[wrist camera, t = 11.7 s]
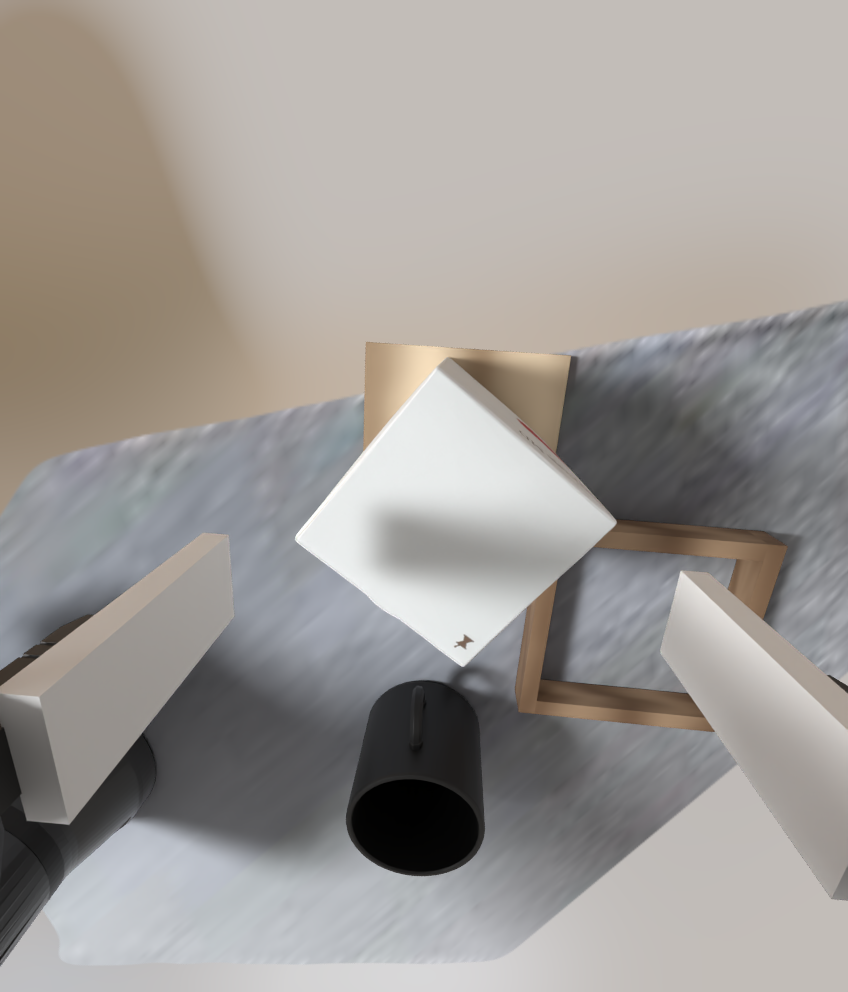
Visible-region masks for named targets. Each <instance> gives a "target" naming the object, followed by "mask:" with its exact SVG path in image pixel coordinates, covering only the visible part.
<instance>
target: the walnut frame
mask: <svg viewBox="0 0 848 992" xmlns="http://www.w3.org/2000/svg"><path fill="white" fill-rule="evenodd" d="M615 520H616V521H617V524H616V525H615V526H614V527H613V528H612V529H611V530H610V531H609V532H608V533H607V534H606V535H605V536H604V537H603V538H602V539H601V540H599V541H598V542H597V543H596V544H595V545H594V546H593V547H600V548H612V549H624V550H636V551H647V552H659V553H671V554H683V555H695V556H707V557H718V558H730V559H737V561H736V564H735V568H734V571H733V574H732V578H731V581H730V584H729V587H728V590H729V591H730V592H731V593H732V594H733V595H735V596H736V597H737V598H738V599H739V600H740V601H741V602H743V603H744V604H745V605H746V606H747V607H748V608H750V609H751V610H752V611H753V612H754V613H755V614H756V615H758V616H759V617H760V618H761V619H762V620H763V618H764V615H765V612H766V609H767V606H768V603H769V600H770V597H771V594H772V591H773V588H774V586H775V583H776V580H777V577H778V574H779V571H780V568H781V565H782V562H783V559H784V556H785V553H786V550H787V547H788V546H787V545H785V544H784V543H782V542H780V541H779V540H777V539H775V538H774V537H772V536H770V535H769V534H767V533H766V532H764V531H753V530H741V529H729V528H717V527H704V526H692V525H680V524H668V523H655V522H643V521H631V520H619V519H615ZM557 580H558V579H557ZM557 580H556V581H555V582H554V583H553V584H552V585H551V586H549V587H548V588H547V589H546V590H545V591H544V592H543V593H542V594H541V595H539V596H538V597H537V598H536V599H535V600H534V601H533V602H532V603H531V604H530V605H529V606H528V607H527V612H526V619H525V625H524V632H523V638H522V645H521V652H520V658H519V665H518V671H517V678H516V684H515V694H516V700H517V706H518V712H522V713H532V714H542V715H551V716H561V717H571V718H581V719H591V720H601V721H611V722H621V723H631V724H641V725H651V726H660V727H670V728H680V729H690V730H700V731H710V732H715V731H714V729H713V728H712V726H711V725H710V724H709V722H708V721H707V719H706V718H705V716H704V715H703V714H702V712H701V711H700V709H699V708H698V706H697V705H696V703H695V702H694V701H693V699H692V698H691V696H690V695H689V694H685V693H675V692H664V691H654V690H644V689H634V688H623V687H613V686H603V685H593V684H582V683H572V682H562V681H552V680H541V679H540V678H541V672H542V667H543V661H544V655H545V649H546V643H547V638H548V632H549V626H550V620H551V614H552V609H553V603H554V597H555V591H556V586H557Z"/></svg>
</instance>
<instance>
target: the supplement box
mask: <svg viewBox="0 0 848 992" xmlns="http://www.w3.org/2000/svg"><path fill="white" fill-rule="evenodd" d="M616 524H617V521H616V520H615V518H614V517H613V516H612V515H611V514H610V512H609V511H608V510H607V509H606V508H605V507H604V506H603V505H602V504H601V502H600V501H599V500H598V499H597V498H596V497H595V496H594V495H593V494H592V493H591V492H590V490H589V489H588V488H587V487H586V486H585V485H584V484H583V483H582V482H581V480H580V479H579V478H578V477H577V476H576V475H575V474H574V473H573V472H572V471H571V470H570V469H569V467H568V466H567V465H566V464H565V463H564V462H563V461H562V460H561V459H560V458H559V457H558V456H557V455H556V453H555V452H554V451H553V450H552V449H551V448H550V447H549V446H548V445H547V443H546V442H545V441H544V440H543V439H542V438H541V437H540V436H538V435H537V434H536V433H535V432H534V431H533V430H532V429H531V428H530V427H529V426H528V425H527V424H526V423H524V422H523V421H522V420H521V419H520V418H519V417H518V416H517V415H516V414H514V413H513V412H512V411H511V410H510V409H509V408H508V407H507V406H505V405H504V404H503V403H502V402H501V401H500V400H498V399H497V398H496V397H495V396H494V395H493V394H491V393H490V392H489V391H488V390H487V389H486V388H484V387H483V386H482V385H481V384H480V383H479V382H478V381H476V380H475V379H474V378H473V377H472V376H471V375H469V374H468V373H467V372H466V371H465V370H464V369H463V368H461V367H460V366H459V365H458V364H457V363H456V362H454V361H453V360H452V359H451V358H449V357H447V358H445V359H444V360H443V361H442V362H441V363H440V364H439V365H438V366H436V368H435V369H434V370H433V371H432V372H431V373H430V374H429V375H428V376H427V378H426V379H425V380H424V381H423V382H422V383H421V384H420V385H419V387H418V388H417V389H416V390H415V391H414V392H413V393H412V395H411V396H410V397H409V398H408V399H407V400H406V402H405V403H404V404H403V405H402V406H401V407H400V408H399V410H398V411H397V412H396V413H395V414H394V415H393V417H392V418H391V419H390V420H389V421H388V423H387V424H386V425H385V426H384V427H383V429H382V430H381V431H380V432H379V433H378V435H377V436H376V437H375V438H374V439H373V441H372V442H371V443H370V444H369V445H368V447H367V448H366V449H365V450H364V452H363V453H362V454H361V455H360V457H359V458H358V459H357V460H356V462H355V463H354V464H353V465H352V467H351V468H350V469H349V470H348V471H347V473H346V474H345V475H344V476H343V478H342V479H341V480H340V481H339V483H338V484H337V485H336V486H335V488H334V489H333V490H332V491H331V493H330V494H329V495H328V496H327V498H326V499H325V500H324V501H323V503H322V504H321V505H320V507H319V508H318V509H317V510H316V512H315V513H314V514H313V515H312V516H311V518H310V519H309V520H308V521H307V523H306V524H305V525H304V526H303V527H302V529H301V530H300V531H299V532H298V534H297V535H296V537H295V540H296V541H297V542H298V544H300V545H301V546H302V547H304V548H305V549H306V550H308V551H309V552H310V553H312V554H313V555H314V556H316V557H317V558H318V559H320V560H321V561H322V562H324V563H325V564H326V565H328V566H329V567H330V568H332V569H333V570H334V571H336V572H337V573H338V574H340V575H341V576H342V577H344V578H345V579H346V580H348V581H349V582H350V583H352V584H353V585H354V586H356V587H357V588H358V589H360V590H361V591H362V592H364V593H365V594H366V595H367V596H368V597H369V598H370V599H371V600H372V601H373V602H374V603H375V604H376V605H377V606H379V607H380V608H381V609H382V610H384V611H385V612H387V613H389V614H390V615H392V616H394V617H396V618H398V619H399V620H401V621H402V622H403V623H405V624H406V625H407V626H409V627H410V628H411V629H413V630H414V631H415V632H417V633H418V634H419V635H421V636H422V637H423V638H424V639H426V640H427V641H428V642H430V643H431V644H432V645H433V646H435V647H436V648H437V649H439V650H440V651H441V652H443V653H444V654H445V655H447V656H448V657H449V658H451V659H452V660H453V661H455V662H456V663H457V664H459V665H460V666H462V667H465V666H466V665H467V664H468V663H469V662H470V661H471V660H472V659H473V658H474V657H475V656H476V655H477V654H478V653H480V652H481V651H482V650H483V649H484V648H485V647H486V646H487V645H488V644H489V643H490V642H491V641H492V640H493V639H494V638H495V637H496V636H497V635H498V634H499V633H500V632H502V631H503V630H504V629H505V628H506V627H507V626H508V625H509V624H510V623H511V622H512V621H513V620H514V619H515V618H516V617H517V616H518V615H519V614H520V613H522V612H523V611H524V610H525V609H526V608H527V607H528V606H529V605H530V604H531V603H532V602H533V601H534V600H535V599H536V598H537V597H538V596H539V595H541V594H542V593H543V592H544V591H545V590H546V589H547V588H548V587H549V586H551V585H552V584H553V583H554V582H555V581H556V580H557V579H558V578H559V577H560V576H562V575H563V574H564V573H565V572H566V571H567V570H568V569H569V568H570V567H571V566H573V565H574V564H575V563H576V562H577V561H578V560H579V559H580V558H582V557H583V556H584V555H585V554H586V553H587V552H588V551H589V550H590V549H591V548H592V547H593V546H594V545H595V544H596V543H597V542H598V541H599V540H601V539H602V538H603V537H604V536H605V535H606V534H607V533H608V532H609V531H610V530H611V529H612V528H613V527H614V526H615V525H616Z"/></svg>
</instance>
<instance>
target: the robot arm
mask: <svg viewBox="0 0 848 992" xmlns="http://www.w3.org/2000/svg"><path fill="white" fill-rule="evenodd" d="M234 617H235V616H234V602H233V588H232V574H231V560H230V546H229V535H224V534H212V533H202V534H201V535H200V536H198V537H197V538H196V539H194V540H193V541H192V542H190V543H189V544H188V545H186V546H185V547H184V548H182V549H181V550H180V551H178V552H177V553H176V554H174V555H173V556H172V557H170V558H169V559H168V560H166V561H165V562H164V563H163V564H161V565H160V566H159V567H157V568H156V569H155V570H153V571H152V572H151V573H149V574H148V575H147V576H145V577H144V578H143V579H141V580H140V581H139V582H137V583H136V584H135V585H133V586H132V587H131V588H129V589H128V590H127V591H126V592H124V593H123V594H122V595H120V596H119V597H118V598H116V599H115V600H114V601H112V602H111V603H110V604H108V605H107V606H106V607H104V608H103V609H102V610H100V611H99V612H98V613H96V614H95V615H86V616H83V617H81V618H79V619H77V620H75V621H72V622H70V623H68V624H66V625H64V626H62V627H60V628H59V629H57V630H56V631H55V632H53V633H52V634H50V635H49V636H48V637H46V638H45V639H43V640H42V641H41V642H40V645H35V646H34V647H32V648H31V649H30V650H28V651H27V652H25V653H24V654H23V657H22V658H17V659H16V660H14V661H13V662H12V663H10V664H9V665H7V666H6V667H5V668H3V669H2V670H1V671H0V966H1V965H2V964H3V962H4V961H5V959H6V958H7V957H8V956H9V954H10V953H11V951H12V950H13V949H14V947H15V946H16V945H17V943H18V942H19V940H20V939H21V938H22V936H23V935H24V933H25V932H26V931H27V929H28V928H29V927H30V925H31V924H32V922H33V921H34V920H35V918H36V917H37V916H38V914H39V913H40V911H41V910H42V909H43V907H44V906H45V905H46V903H47V902H48V900H49V899H50V898H51V896H52V895H53V894H54V892H55V891H56V890H57V888H58V887H59V885H60V884H61V883H62V881H63V880H64V879H65V877H66V876H67V875H68V874H69V873H70V872H71V871H72V870H74V869H75V868H76V867H77V866H78V865H79V864H80V863H82V862H83V861H84V860H85V859H86V858H87V857H88V856H89V855H91V854H92V853H93V852H94V851H95V850H96V849H97V848H99V847H100V846H101V845H102V844H103V843H104V842H105V841H106V840H107V839H108V838H109V837H110V836H112V835H113V834H114V833H115V832H116V831H118V830H119V829H120V828H122V827H123V826H124V825H126V824H127V823H128V822H129V821H130V820H131V819H132V818H133V817H134V815H135V814H136V813H137V811H138V810H139V808H140V807H141V805H142V804H143V803H144V801H145V800H146V798H147V797H148V795H149V794H150V792H151V790H152V788H153V785H154V782H155V775H156V769H155V762H154V758H153V755H152V752H151V750H150V748H149V746H148V744H147V742H146V740H145V739H144V737H143V736H142V735H141V734H142V732H143V731H144V730H145V729H146V727H147V726H148V725H149V724H150V722H151V721H152V720H153V719H154V717H155V716H156V715H157V714H158V712H159V711H160V710H161V709H162V707H163V706H164V705H165V703H166V702H167V701H168V700H169V698H170V697H171V696H172V695H173V693H174V692H175V691H176V690H177V688H178V687H179V686H180V685H181V683H182V682H183V681H184V680H185V678H186V677H187V676H188V675H189V673H190V672H191V671H192V669H193V668H194V667H195V666H196V664H197V663H198V662H199V661H200V659H201V658H202V657H203V656H204V654H205V653H206V652H207V651H208V649H209V648H210V647H211V646H212V644H213V643H214V642H215V640H216V639H217V638H218V637H219V635H220V634H221V633H222V632H223V630H224V629H225V628H226V627H227V625H228V624H229V623H230V622H231V620H232V619H233V618H234ZM660 653H661V654H662V656H663V657H664V659H665V660H666V662H667V663H668V665H669V666H670V667H671V669H672V670H673V672H674V673H675V675H676V676H677V678H678V679H679V680H680V682H681V683H682V685H683V686H684V688H685V689H686V690H687V692H688V693H689V695H690V696H691V698H692V699H693V701H694V702H695V703H696V705H697V706H698V708H699V709H700V711H701V712H702V714H703V715H704V716H705V718H706V719H707V721H708V722H709V724H710V725H711V726H712V728H713V729H714V731H715V732H716V734H717V735H718V737H719V738H720V739H721V741H722V742H723V744H724V745H725V747H726V748H727V750H728V751H729V752H730V754H731V755H732V757H733V758H734V760H735V761H736V762H737V764H738V765H739V767H740V768H741V770H742V771H743V773H744V774H745V775H746V777H747V778H748V780H749V781H750V783H751V784H752V786H753V787H754V788H755V790H756V791H757V793H758V794H759V796H760V797H761V798H762V800H763V801H764V803H765V804H766V806H767V807H768V809H769V810H770V811H771V813H772V814H773V816H774V817H775V819H776V820H777V822H778V823H779V824H780V826H781V827H782V829H783V830H784V831H785V833H786V834H787V836H788V837H789V839H790V840H791V842H792V843H793V844H794V846H795V847H796V849H797V850H798V852H799V853H800V855H801V856H802V858H803V859H804V860H805V862H806V863H807V865H808V866H809V868H810V869H811V870H812V872H813V873H814V875H815V876H816V878H817V879H818V881H819V882H820V883H821V885H822V886H823V887H824V889H825V891H826V892H827V893H828V895H829V896H830V898H831V899H839V900H848V686H847V685H845V684H844V683H842V682H840V681H839V680H837V679H835V678H834V677H832V676H830V675H826V674H825V673H823V672H822V671H821V670H820V669H819V668H818V667H816V666H815V665H814V664H813V663H812V662H811V661H810V660H808V659H807V658H806V657H805V656H804V655H803V654H801V653H800V652H799V651H798V650H797V649H796V648H795V647H793V646H792V645H791V644H790V643H789V642H788V641H786V640H785V639H784V638H783V637H782V636H781V635H780V634H778V633H777V632H776V631H775V630H774V629H773V628H771V627H770V626H769V625H768V624H767V623H766V622H765V621H763V620H762V619H761V618H760V617H759V616H758V615H756V614H755V613H754V612H753V611H752V610H751V609H750V608H748V607H747V606H746V605H745V604H744V603H743V602H741V601H740V600H739V599H738V598H737V597H736V596H735V595H733V594H732V593H731V592H730V591H729V590H728V589H726V588H725V587H724V586H723V585H722V584H721V583H720V582H718V581H717V580H716V579H715V578H714V577H713V576H711V575H710V574H709V573H707V572H694V571H682V570H681V572H680V576H679V580H678V584H677V588H676V591H675V595H674V599H673V603H672V607H671V611H670V615H669V618H668V622H667V626H666V630H665V634H664V638H663V642H662V645H661V649H660Z"/></svg>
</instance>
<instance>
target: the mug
mask: <svg viewBox="0 0 848 992" xmlns="http://www.w3.org/2000/svg"><path fill="white" fill-rule="evenodd" d="M346 825H347V830H348V833H349V836H350V838H351V840H352V842H353V843H354V845H355V846H356V848H357V849H358V850H359V851H360V852H361V853H362V854H363V855H364V856H365V857H366V858H368V859H369V860H370V861H372V862H373V863H375V864H377V865H378V866H381V867H383V868H385V869H387V870H390V871H393V872H396V873H400V874H405V875H412V876H432V875H439V874H443V873H447V872H450V871H453V870H455V869H457V868H459V867H461V866H463V865H464V864H466V863H467V862H468V861H470V860H471V859H472V858H473V856H474V855H475V854H476V853H477V851H478V850H479V848H480V846H481V844H482V841H483V838H484V832H485V822H484V805H483V787H482V770H481V752H480V735H479V723H478V719H477V716H476V714H475V712H474V710H473V708H472V707H471V706H470V704H469V703H468V701H467V700H466V699H465V698H464V697H463V696H461V695H460V694H459V693H457V692H456V691H454V690H453V689H451V688H449V687H447V686H444V685H441V684H438V683H434V682H426V681H414V682H407V683H403V684H400V685H397V686H395V687H393V688H391V689H390V690H388V691H387V692H385V693H384V694H383V695H382V696H381V697H380V698H379V699H378V700H377V701H376V703H375V704H374V705H373V707H372V709H371V712H370V715H369V719H368V723H367V728H366V732H365V736H364V740H363V745H362V749H361V753H360V757H359V762H358V766H357V770H356V774H355V779H354V783H353V787H352V791H351V796H350V800H349V804H348V808H347V814H346Z"/></svg>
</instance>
